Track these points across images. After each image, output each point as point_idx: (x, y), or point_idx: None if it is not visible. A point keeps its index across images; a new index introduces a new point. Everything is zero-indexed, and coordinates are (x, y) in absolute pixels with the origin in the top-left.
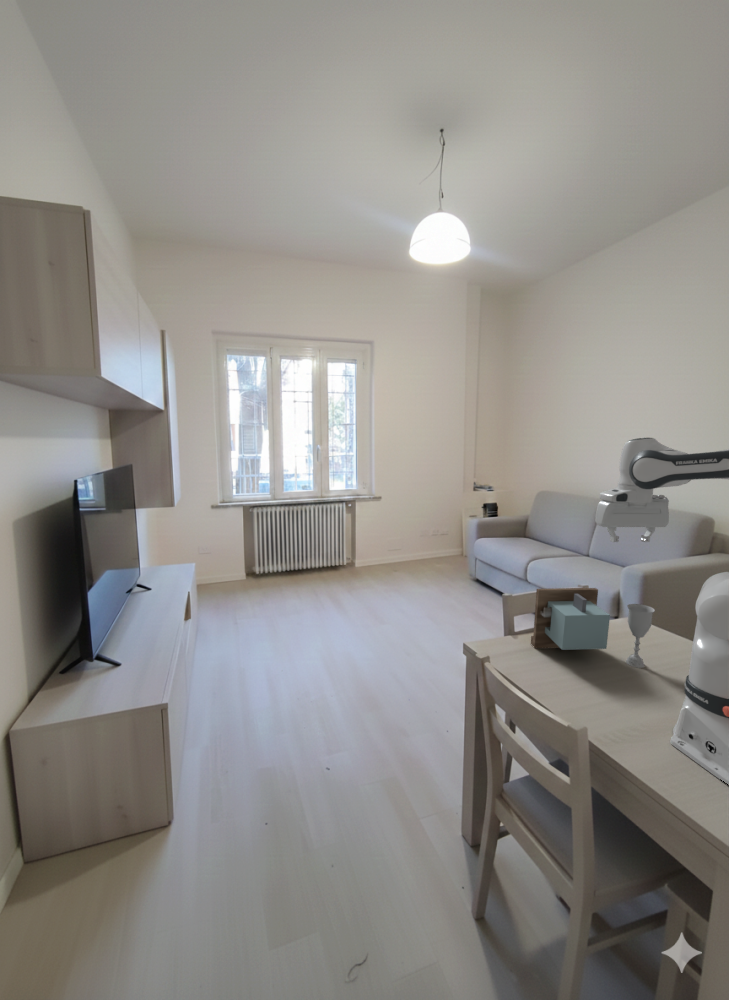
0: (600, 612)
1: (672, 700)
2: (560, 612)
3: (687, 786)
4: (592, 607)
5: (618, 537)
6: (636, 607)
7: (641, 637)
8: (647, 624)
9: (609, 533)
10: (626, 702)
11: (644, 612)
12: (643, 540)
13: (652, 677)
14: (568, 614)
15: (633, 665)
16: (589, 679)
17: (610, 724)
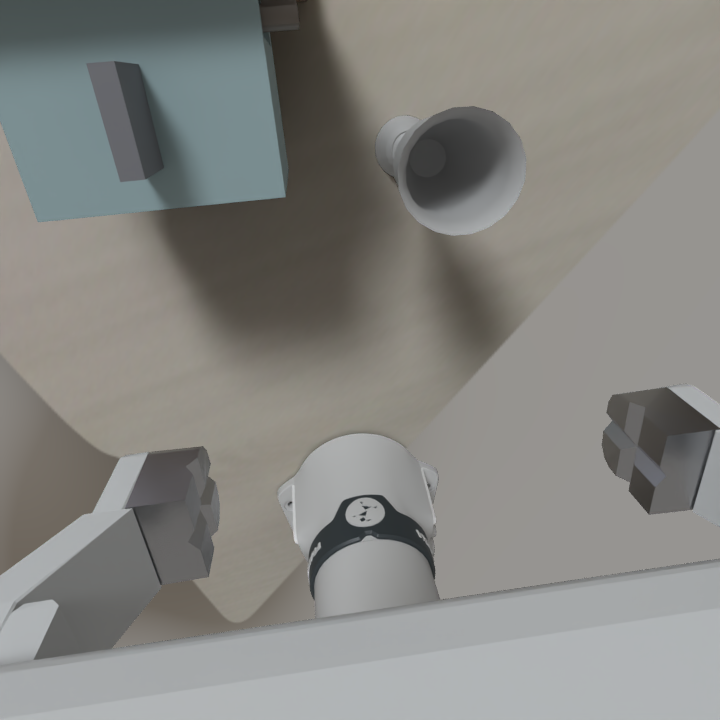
0: (246, 167)
1: (382, 351)
2: (20, 169)
3: (245, 570)
4: (228, 90)
5: (201, 567)
6: (470, 116)
7: (429, 178)
8: (451, 211)
9: (53, 544)
10: (257, 368)
11: (442, 231)
12: (618, 436)
13: (404, 239)
14: (59, 205)
15: (386, 169)
16: (198, 263)
17: (179, 448)
